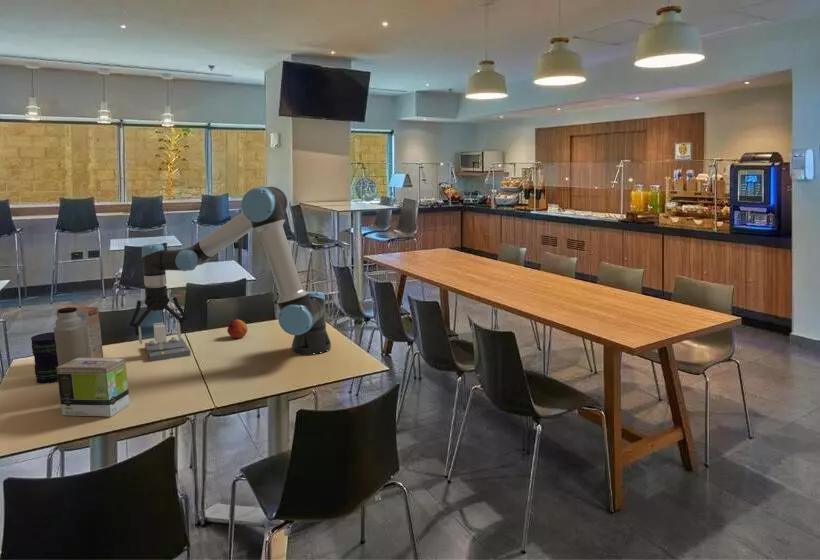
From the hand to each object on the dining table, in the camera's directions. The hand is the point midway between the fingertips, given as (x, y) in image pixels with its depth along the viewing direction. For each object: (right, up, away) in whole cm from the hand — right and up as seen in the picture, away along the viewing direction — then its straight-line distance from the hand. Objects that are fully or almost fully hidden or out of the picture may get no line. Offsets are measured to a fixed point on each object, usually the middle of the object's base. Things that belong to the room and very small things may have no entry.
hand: (160, 340), depth 217 cm
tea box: (+3, -15, -50) cm, 53 cm away
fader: (0, -3, +1) cm, 3 cm away
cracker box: (-25, -8, -7) cm, 27 cm away
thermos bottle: (-8, -13, -40) cm, 43 cm away
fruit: (+22, -1, +25) cm, 33 cm away
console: (0, -5, +6) cm, 7 cm away
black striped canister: (-26, -10, -24) cm, 37 cm away
